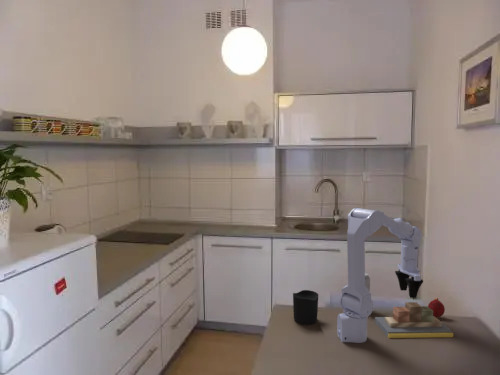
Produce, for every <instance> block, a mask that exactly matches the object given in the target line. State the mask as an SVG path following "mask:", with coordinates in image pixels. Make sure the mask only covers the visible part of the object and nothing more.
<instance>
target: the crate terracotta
mask: <svg viewBox="0 0 500 375" xmlns="http://www.w3.org/2000/svg"><path fill="white" fill-rule="evenodd" d="M392 308H393V309H392V317H393V319H395V320H396V321H397V322H398V323H409V318H410V311H409V310H408V309H406V308H405V306H393V307H392Z"/></svg>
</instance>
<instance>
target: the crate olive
mask: <svg viewBox="0 0 500 375" xmlns="http://www.w3.org/2000/svg"><path fill="white" fill-rule="evenodd" d="M421 306H422V317H421V322H433V310H431V309H430V308H429V307H428V305H427V306H423V305H421Z"/></svg>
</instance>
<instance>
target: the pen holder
mask: <svg viewBox="0 0 500 375" xmlns="http://www.w3.org/2000/svg"><path fill="white" fill-rule="evenodd" d="M292 303H293V305H292V308H293V309H292V310H293V320H294V321H295V322H296V323H297V324H299V323H300V324H299V325H304V324H306V326H307V324H310V325H314V324H316V323H317V321H318V312H319V310H318V309H319V308H318V307H319V306H318V305H319V293H318V292H316V291H313V290H311V289H310V290H309V289H303V290H300V291H298V292H293V293H292ZM313 323H314V324H313Z"/></svg>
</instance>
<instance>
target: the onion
mask: <svg viewBox="0 0 500 375" xmlns="http://www.w3.org/2000/svg"><path fill="white" fill-rule="evenodd" d="M427 306H428V307H429V308H430V309H431V310H433V316H434V317H436V318H437V319H439V318H441V317H442V316H443V315H444V314H445V310H446V309H445V308H446V307H445V305H444V304H443V303H442V302H441V301H440V299H439V298H438V297H435V298H434V299H432V300H431V301H430V302H428V304H427Z"/></svg>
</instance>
